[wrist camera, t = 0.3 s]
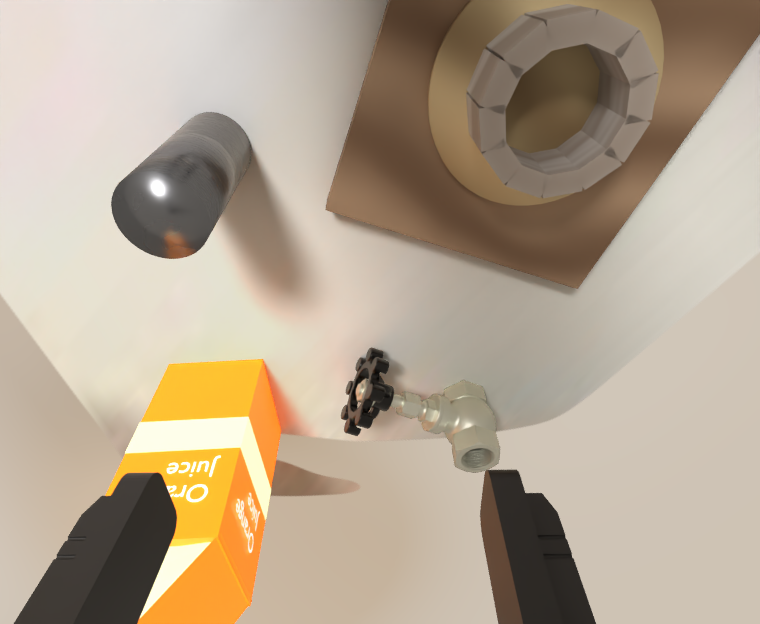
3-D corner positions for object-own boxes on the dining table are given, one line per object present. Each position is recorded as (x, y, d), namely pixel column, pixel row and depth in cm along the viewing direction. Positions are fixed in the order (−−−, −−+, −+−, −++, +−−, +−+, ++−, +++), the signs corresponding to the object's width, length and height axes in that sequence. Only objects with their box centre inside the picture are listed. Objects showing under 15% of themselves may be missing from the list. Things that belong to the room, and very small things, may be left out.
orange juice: (264, 358, 38) (190, 653, 21) (282, 431, 43) (234, 712, 27) (166, 363, 38) (18, 662, 21) (196, 435, 43) (96, 719, 27)
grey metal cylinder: (185, 101, 26) (112, 157, 19) (257, 126, 27) (216, 189, 19) (178, 168, 28) (110, 243, 21) (244, 189, 29) (203, 268, 22)
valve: (504, 376, 40) (375, 330, 36) (526, 440, 34) (378, 392, 31) (462, 424, 43) (342, 386, 40) (477, 489, 38) (338, 450, 35)
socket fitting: (464, -248, 19) (495, -313, 14) (799, -56, 23) (904, -61, 18) (327, 200, 30) (320, 241, 25) (569, 277, 34) (601, 324, 29)
